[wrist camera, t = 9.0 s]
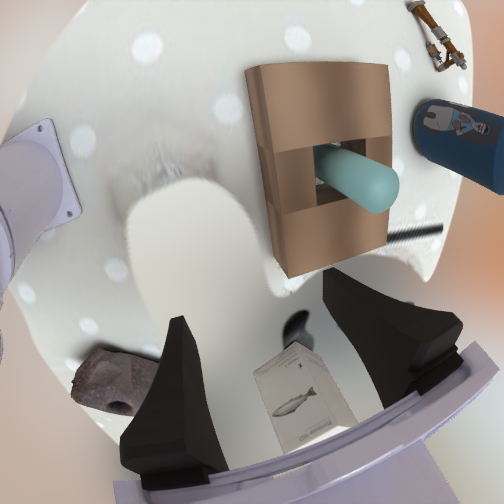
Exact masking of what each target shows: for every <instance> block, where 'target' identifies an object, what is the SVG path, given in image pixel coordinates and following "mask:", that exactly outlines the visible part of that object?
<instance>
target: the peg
mask: <svg viewBox="0 0 504 504" xmlns="http://www.w3.org/2000/svg"><path fill="white" fill-rule="evenodd" d="M312 147H313V158H314V171H315V177H317V178H319V179H320V180H322V181H324V182H325V183H327V184H328V185H330V186H332V187H333V188H335V189H336V190H338V191H339V192H341V193H343V194H344V195H346V196H347V197H349V198H350V199H352V200H353V201H355V202H356V203H358V204H359V205H361V206H362V207H364V208H365V209H366V210H368V211H369V212H371V213H375V214H378V213H382V212H384V211H386V210H387V209H389V208H390V207H391V206H392V204H393V203H394V201H395V200H396V198H397V195H398V192H399V178H398V175H397V174H396V172H395V171H394V170H393V169H392V168H390V167H387V166H385V165H383V164H381V163H378V162H376V161H374V160H371V159H369V158H367V157H364V156H362V155H359V154H357V153H354V152H352V151H349V150H347V149H344V148H341V147H339V146H336V145H333V144H331V143H328V144H321V145H315V146H312Z"/></svg>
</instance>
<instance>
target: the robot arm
mask: <svg viewBox="0 0 504 504" xmlns="http://www.w3.org/2000/svg"><path fill="white" fill-rule="evenodd" d="M40 125H41V126H42V127H43V130H42V131H40V130H39V127H40ZM68 211H71V212H72V214H73V215H69V214H68ZM81 212H82V209H81V206H80V204H79V201H78V199H77V196H76V193H75V191H74V188H73V185H72V183H71V180H70V177H69V174H68V171H67V168H66V166H65V163H64V159H63V156H62V153H61V150H60V147H59V143H58V140H57V137H56V133H55V129H54V126H53V122H52V120H51V119H44V120H42V121H40V122H38V123H37V124H35V125H33V126H31V127H30V128H28V129H26V130H24V131H23V132H21V133H19V134H18V135H16V136H15V137H13V138H11V139H10V140H8V141H7V142H5V143H4V144H2V145H1V146H0V309H1V307H2V305H3V294H4V292H5V290H6V288H7V287H8V285H9V283H10V281H11V280H12V278H13V276H14V275H15V273H16V271H17V270H18V268H19V266H20V265H21V263H22V262H23V260H24V259H25V257H26V256H27V254H28V253H29V251H30V250H31V248H32V247H33V245H34V244H35V242H36V241H37V239H38V238H39V237H40V235H41V234H42V233H43V232H44V231H47V230H49V229H51V228H54V227H56V226H58V225H61V224H63V223H65V222H68V221H70V220H73V219H75V218H78V217H79V216H80V214H81ZM323 301H324V303H325V305H326V307H327V309H328V310H329V312H330V314H331V316H332V317H333V319H334V320H335V321H336V323H337V324H338V326H339V327H340V328H341V330H342V331H343V332H344V334H345V335H346V336H347V338H348V339H349V341H350V342H351V343H352V345H353V346H354V348H355V349H356V351H357V352H358V354H359V356H360V358H361V359H362V362H363V363H364V365H365V367H366V369H367V371H368V373H369V375H370V377H371V379H372V381H373V383H374V386H375V388H376V390H377V392H378V395H379V397H380V400H381V402H382V405H383V407H384V410H383V411H381V412H380V413H378V414H376V415H374V416H372V417H370V418H369V419H367V420H365V421H363V422H361V423H359V424H357V425H355V426H353V427H351V428H349V429H347V430H344V431H342V432H340V433H338V434H336V435H334V436H331V437H329V438H327V439H324V440H322V441H320V442H317V443H315V444H312V445H310V446H307V447H305V448H302V449H299V450H297V451H294V452H291V453H288V454H285V455H283V456H280V457H277V458H273V459H270V460H267V461H264V462H260V463H257V464H254V465H250V466H246V467H242V468H238V469H234V470H229V468H228V465H227V463H226V460H225V458H224V455H223V453H222V450H221V447H220V444H219V441H218V438H217V435H216V432H215V429H214V426H213V423H212V419H211V416H210V412H209V409H208V405H207V401H206V396H205V389H204V383H203V376H202V369H201V362H200V357H199V353H198V349H197V345H196V341H195V339H194V337H193V335H192V333H191V331H190V329H189V327H188V325H187V323H186V321H185V318H184V316H183V315H182V316H179V317H175V318H171V320H170V323H169V328H168V333H167V337H166V341H165V345H164V349H163V353H162V356H161V359H160V362H159V365H158V368H157V371H156V374H155V377H154V379H153V382H152V384H151V386H150V389H149V391H148V393H147V395H146V397H145V399H144V401H143V403H142V405H141V406H140V408H139V410H138V411H137V413H136V415H135V416H134V418H133V420H132V421H131V423H130V424H129V425H128V427H127V428H126V430H125V431H124V432H123V434H122V435H121V436H120V459H121V460H120V461H121V464H122V466H124V467H125V468H127V469H129V470H131V471H133V472H135V473H137V474H140V478H141V480H114V481H113V485H114V494H115V501H116V504H460V502H459V500H458V499H457V497H456V495H455V494H454V492H453V490H452V488H451V487H450V485H449V483H448V482H447V480H446V478H445V477H444V475H443V474H442V472H441V470H440V469H439V467H438V465H437V464H436V462H435V460H434V459H433V457H432V455H431V454H430V452H429V451H428V449H427V448H426V446H425V444H424V443H423V441H425V440H426V439H427V438H429V437H430V436H431V435H433V434H434V433H435V432H437V431H438V430H439V429H440V428H442V427H443V426H444V425H445V424H447V423H448V422H449V421H450V420H452V419H453V418H454V417H455V416H456V415H457V414H459V413H460V412H461V411H462V410H463V409H464V408H465V407H466V406H467V405H469V404H470V403H471V402H472V401H473V400H474V399H475V398H476V397H477V396H478V395H479V394H480V393H481V392H482V391H483V390H484V389H485V388H486V386H488V384H489V383H490V382H491V381H492V380H493V379H494V377H495V376H496V375H497V374H498V373H499V371H500V369H499V368H498V367H497V365H496V364H495V363H494V362H493V361H492V360H491V358H490V357H489V356H488V355H487V354H486V352H485V351H484V350H483V349H482V348H481V347H480V346H479V345H478V343H477V342H476V341H474V342H473V343H471V344H470V345H469V346H468V347H467V348H466V349H464V350H463V351H462V352H461V354H460V355H459V354H458V353H457V352H456V351H457V350H458V348H457V346H456V345H455V342H456V341H457V339H458V337H459V335H460V333H461V331H462V329H463V323H462V322H461V321H460V319H459V318H457V316H456V315H455V314H454V313H452V312H445V311H437V310H432V309H427V308H422V307H418V306H415V305H411V304H408V303H405V302H402V301H399V300H396V299H393V298H391V297H389V296H386V295H384V294H382V293H380V292H378V291H376V290H373V289H372V288H369V287H367V286H366V285H364V284H362V283H360V282H358V281H357V280H355V279H353V278H351V277H350V276H348V275H346V274H344V273H343V272H341V271H339V270H337V269H335V268H334V267H333V268H330V269H327V270H324V271H323ZM2 354H3V338H2V333H1V330H0V363H1V359H2ZM317 459H318V460H317ZM315 460H316V461H315ZM312 461H314V462H313V463H311V464H310V465H308V466H305V467H303V468H301V469H298V470H296V471H294V472H291V473H288V474H286V475H283V476H281V477H278V478H276V479H274V478H273V477H269V476H272V475H276V474H278V473H282V472H285V471H288V470H290V469H294V468H296V467H299V466H302V465H304V464H307V463H309V462H312Z"/></svg>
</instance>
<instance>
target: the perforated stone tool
mask: <svg viewBox="0 0 504 504" xmlns="http://www.w3.org/2000/svg"><path fill="white" fill-rule="evenodd" d="M158 365H159V363H156V362H154V361H152V360H148V359H144V358H141V357H138V356H135V355H131V354H127V353H125V354H124V353H121V352H117V353H113V352H110V351H104V350H103V349H101V348H97V349H96V350H95V351H94V352H93V353H92V354H91V355H90V356H89V357H88V358H87V359H85V360H84V361H83V363H82V364H81V365H80V367H79V368H78V369H77V371H76V373H75V377H74V380H72V383H73V386H72V390H71V398H73V399H74V400H75V402H77V403H79V404H81V405H84V406H87V407H91V408H95V409H98V410H101V411H104V412H108V413H114V414H118V415H125V416H135V415H136V413H137V411H138V410H139V408H140V406H141V405H142V403H143V401H144V399H145V397H146V395H147V393H148V391H149V389H150V386H151V384H152V382H153V379H154V377H155V374H156V371H157V368H158Z"/></svg>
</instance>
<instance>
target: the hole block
mask: <svg viewBox="0 0 504 504" xmlns="http://www.w3.org/2000/svg"><path fill="white" fill-rule="evenodd" d="M245 75H246V81H247V87H248V92H249V98H250V104H251V110H252V116H253V122H254V128H255V134H256V140H257V146H258V152H259V158H260V165H261V171H262V177H263V184H264V191H265V197H266V204H267V211H268V217H269V224H270V231H271V238H272V245H273V252H274V257H275V259H276V260H277V262H278V263H279V265H280V266H281V268H282V269H283V271H284V272H285V274H286V276H287V277H288V279H290V278H293V277H296V276H299V275H302V274H305V273H308V272H311V271H314V270H317V269H320V268H323V267H326V266H329V265H332V264H334V263H337V262H340V261H343V260H346V259H349V258H351V257H354V256H357V255H360V254H363V253H365V252H368V251H371V250H374V249H376V248H379V247H382V246H384V245H386V239H387V230H388V221H389V209H390V208H389V209H387V210H386V211H384V212H382V213H378V214H375V213H371V212H369V211H368V210H366V209H365V208H364V207H362V206H361V205H359V204H358V203H356V202H355V201H353V200H352V199H350V198H349V197H347V196H346V195H344V194H343V193H341V192H339V191H338V190H336V189H335V188H333V187H332V186H330V185H328V184H322V185H318V186H316V184H315V171H314V158H313V147H312V146H315V145H321V144H328V143H334V142H341V148H344V149H347V150H349V151H352V152H354V153H357V154H359V155H362V156H364V157H367V158H369V159H371V160H374V161H376V162H378V163H381V164H383V165H385V166H387V167H390V168H392V113H391V95H390V82H389V71H388V65H384V64H373V63H359V62H293V63H278V64H267V65H259V66H256V67H253V68H250V69H247V70H245Z"/></svg>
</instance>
